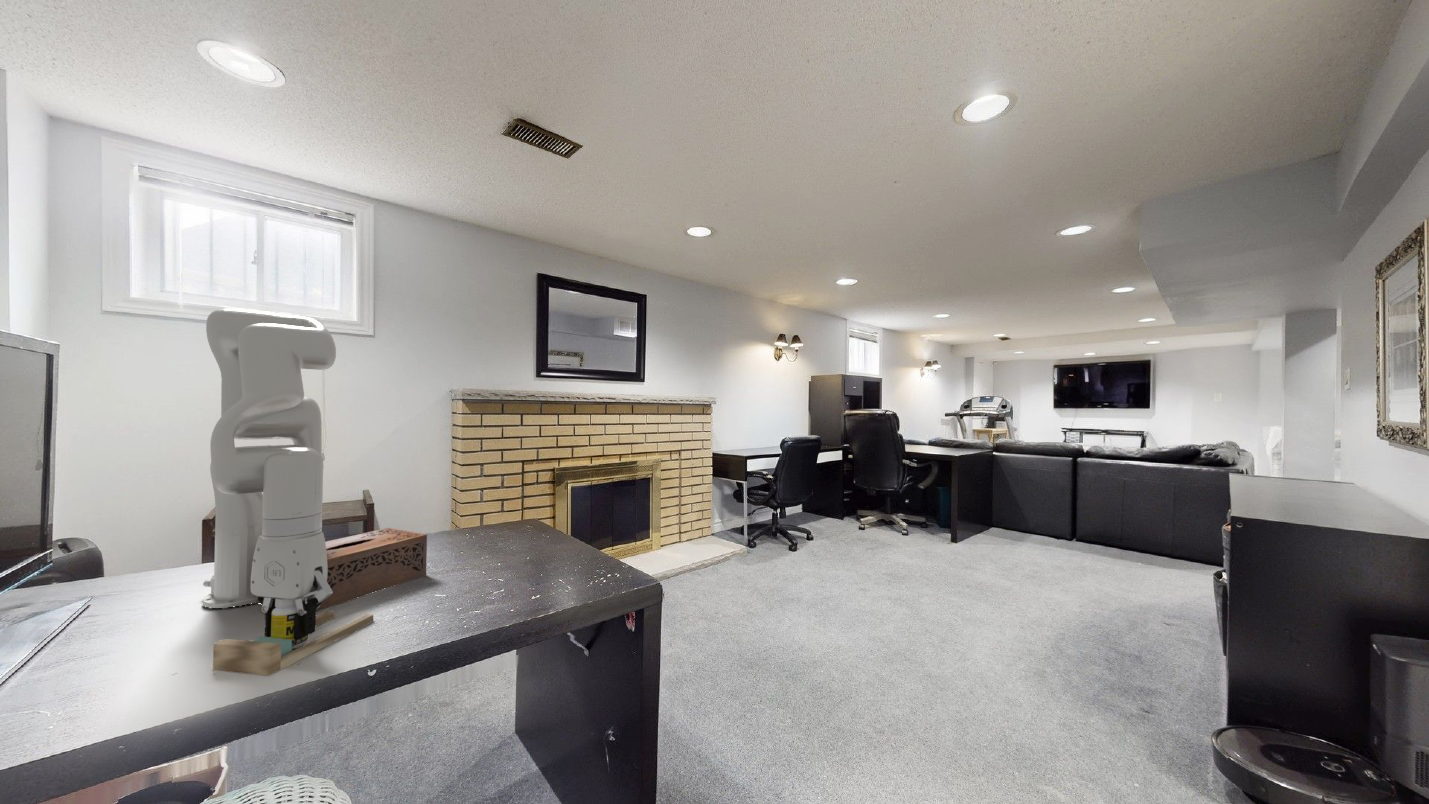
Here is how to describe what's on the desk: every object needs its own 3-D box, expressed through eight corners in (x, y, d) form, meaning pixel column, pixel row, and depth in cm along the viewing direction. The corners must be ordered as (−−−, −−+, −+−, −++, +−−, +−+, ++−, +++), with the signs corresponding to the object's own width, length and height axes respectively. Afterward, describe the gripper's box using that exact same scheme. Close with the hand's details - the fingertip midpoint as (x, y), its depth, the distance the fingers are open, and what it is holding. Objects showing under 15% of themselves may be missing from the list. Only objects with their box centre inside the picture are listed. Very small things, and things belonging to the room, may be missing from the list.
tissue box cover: (387, 567, 121) (388, 527, 121) (426, 576, 115) (426, 534, 115) (257, 605, 97) (258, 556, 97) (297, 619, 91) (298, 566, 92)
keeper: (239, 663, 75) (240, 646, 75) (260, 654, 78) (260, 636, 78) (271, 667, 74) (272, 649, 74) (291, 657, 77) (291, 639, 77)
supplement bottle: (285, 653, 77) (286, 601, 77) (262, 650, 78) (263, 598, 78) (316, 639, 82) (317, 590, 82) (293, 636, 83) (294, 588, 83)
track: (212, 669, 73) (213, 643, 73) (326, 617, 92) (327, 596, 92) (269, 675, 72) (270, 649, 72) (373, 621, 90) (373, 599, 90)
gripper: (224, 528, 78) (221, 641, 78) (315, 534, 75) (313, 650, 75) (272, 518, 85) (270, 620, 85) (357, 522, 83) (355, 628, 83)
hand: (290, 633), depth 80 cm, fingers closed on supplement bottle, 4 cm apart
